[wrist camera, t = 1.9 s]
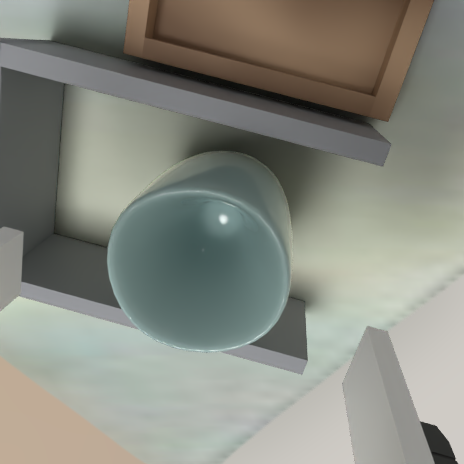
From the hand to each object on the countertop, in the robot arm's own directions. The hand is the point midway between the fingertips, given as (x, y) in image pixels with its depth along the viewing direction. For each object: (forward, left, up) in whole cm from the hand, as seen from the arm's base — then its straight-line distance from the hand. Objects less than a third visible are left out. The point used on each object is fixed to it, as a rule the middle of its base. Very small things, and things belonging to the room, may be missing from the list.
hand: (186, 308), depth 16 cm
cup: (0, 0, -12) cm, 12 cm away
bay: (0, -2, -12) cm, 12 cm away
